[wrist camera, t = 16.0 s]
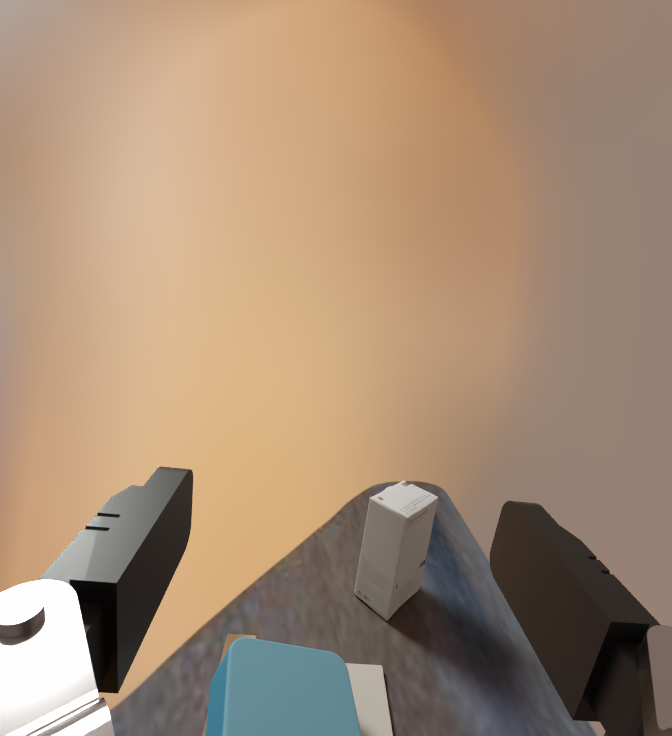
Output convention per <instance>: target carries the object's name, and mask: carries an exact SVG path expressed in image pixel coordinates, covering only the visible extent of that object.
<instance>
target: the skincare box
mask: <svg viewBox="0 0 672 736" xmlns="http://www.w3.org/2000/svg"><path fill="white" fill-rule="evenodd" d="M437 501H438V497H437V496H435V495H433V494H431V493H429V492H427V491H425V490H423V489H421V488H419V487H417V486H415V485H413V484H410V483H408V482H406V481H402V482H400V483H398V484H396V485H394V486H390V487H387V488H386V489H385V490H384V491H383V492H381V493H379V494H377V495H375V496H373V497H371V498H370V500H369V506H368V512H367V518H366V524H365V530H364V536H363V542H362V548H361V554H360V560H359V565H358V571H357V577H356V583H355V589H354V594H355V595H356V596H357V597H359V598H360V599H361V600H363V601H364V602H365V603H366V604H367V605H368V606H370V607H371V608H372V609H373V610H374V611H375V612H376V613H377V614H379V615H380V616H381V617H382V618H383V619H385V620H386V621H387V620H389V619H390V617H391V616H392V615H393V614H394V613H395V612H396V611H397V610H398V608H399V607H400V606H401V605H402V604H404V603H405V602H406V601H407V600H408V599H409V598H410V597H411V596H412V595H414V594H415V593H416V592H417V591H418V590H419V588H420V583H421V579H422V574H423V569H424V564H425V559H426V555H427V550H428V545H429V540H430V535H431V530H432V524H433V519H434V515H435V510H436V506H437Z"/></svg>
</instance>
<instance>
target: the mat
mask: <svg viewBox="0 0 672 736" xmlns="http://www.w3.org/2000/svg"><path fill="white" fill-rule="evenodd" d="M345 664H346V666H347V669H348V673H349V678H350V683H351V687H352V692H353V697H354V702H355V707H356V712H357V716H358V721H359V726H360V731H361V736H393V733H392V727H391V720H390V714H389V708H388V701H387V695H386V688H385V682H384V675H383V669H382V666H381V665H365V664H349V663H345Z"/></svg>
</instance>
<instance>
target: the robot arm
mask: <svg viewBox="0 0 672 736" xmlns="http://www.w3.org/2000/svg"><path fill="white" fill-rule="evenodd" d="M192 491H193V472H192V470H190V469H179V468H169V467H159V468H158V469H157V470H156V471H155V472H154V474H153V475H152V476H151V477H150V479H149V480H148V481H147V482H146V484H145V485H144V486H133V485H132V486H130V487H128V488H127V489H125V490H123V491H122V492H120V493H118V494H116V495H115V496H113V497H111V498H110V500H109V501H108V502H107V503H106V504H105V505H104V506H103V507H102V509H101V510H100V511H99V512H98V515H97V516H95V517H94V518H93V519H92V520H91V521H90V522H89V523H88V524H87V525H86V528H85V529H83V530H82V531H81V532H80V533H79V534H78V535H77V537H76V538H75V539H74V540H73V541H72V542H71V543H70V544H69V546H68V547H67V548H66V549H65V550H64V551H63V552H62V554H61V555H60V556H59V557H58V558H57V559H56V560H55V561H54V563H52V565H51V566H50V567H49V568H48V569H47V570H46V571H45V573H44V574H43V575H42V576H41V577H40V578H39V579H38V580H37V581H35V582H29V583H26V584H22V585H19V586H16V587H13V588H11V589H9V590H6V591H4V592H3V593H1V594H0V736H114V731H113V727H112V723H111V718H110V714H109V710H108V707H107V704H106V701H105V699H104V698H101V699H99V696H98V692H104V693H105V692H106V693H118V692H119V690H120V688H121V685H122V684H123V681H124V679H125V677H126V675H127V672H128V671H129V669H130V666H131V664H132V662H133V660H134V658H135V656H136V654H137V651H138V649H139V647H140V645H141V643H142V641H143V639H144V637H145V635H146V633H147V630H148V628H149V626H150V624H151V622H152V620H153V618H154V616H155V613H156V611H157V609H158V607H159V605H160V603H161V601H162V599H163V596H164V594H165V592H166V590H167V588H168V586H169V584H170V581H171V579H172V577H173V575H174V573H175V571H176V568H177V567H178V564H179V562H180V560H181V558H182V556H183V554H184V552H185V549H186V546H187V543H188V539H189V535H190V529H191V515H192ZM490 567H491V571H492V574H493V577H494V579H495V581H496V583H497V584H498V586H499V588H500V590H501V592H502V593H503V595H504V597H505V599H506V601H507V602H508V604H509V606H510V608H511V610H512V611H513V613H514V615H515V617H516V619H517V620H518V622H519V624H520V626H521V628H522V629H523V631H524V633H525V635H526V637H527V638H528V640H529V642H530V644H531V646H532V647H533V649H534V651H535V653H536V655H537V656H538V658H539V660H540V662H541V664H542V665H543V667H544V669H545V671H546V673H547V674H548V676H549V678H550V680H551V682H552V683H553V685H554V687H555V689H556V691H557V692H558V694H559V696H560V698H561V700H562V701H563V703H564V705H565V707H566V709H567V710H568V712H569V714H570V716H571V718H572V719H573V720H581V721H600V722H601V724H602V726H603V727H604V729H605V731H606V732H605V734H604V736H672V627H670V626H664V625H660V624H659V623H658V622H657V620H656V619H655V618H654V617H653V616H651V614H650V613H649V612H648V611H647V610H646V609H645V608H644V607H643V606H642V605H641V604H640V603H639V601H637V599H636V598H635V597H634V596H633V595H632V594H631V593H630V592H629V591H628V590H627V589H626V588H625V587H624V586H623V585H622V583H621V582H620V581H619V580H618V579H617V578H616V577H615V576H614V575H611V574H610V572H609V570H608V569H607V568H606V567H605V566H604V565H603V563H602V562H601V561H600V560H597V559H596V556H595V555H594V554H593V553H592V552H591V551H590V550H589V549H588V548H587V547H586V545H585V544H584V543H583V542H582V541H581V540H580V539H578V538H577V537H575V536H574V535H572V534H571V533H569V532H568V531H567V530H565V529H564V528H562V527H561V526H559V525H558V524H557V523H556V521H555V520H554V519H553V518H552V517H551V516H550V515H549V514H548V513H547V512H546V511H545V509H544V508H543V507H542V506H541V505H539V504H535V503H526V502H515V501H507V502H506V503H505V504H504V505H503V507H502V510H501V514H500V518H499V521H498V525H497V528H496V532H495V536H494V539H493V543H492V547H491V551H490Z"/></svg>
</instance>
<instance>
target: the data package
mask: <svg viewBox="0 0 672 736" xmlns="http://www.w3.org/2000/svg"><path fill="white" fill-rule="evenodd" d="M205 736H361V731H360V726H359V721H358V716H357V712H356V707H355V702H354V697H353V692H352V687H351V683H350V678H349V673H348V669H347V666H346V664H345V662H344V661H343V660H342V659H341V658H340V657H339V656H338V655H337V654H335V653H333V652H328V651H323V650H317V649H311V648H305V647H300V646H294V645H288V644H283V643H277V642H271V641H265V640H260V639H254V638H248V637H242V638H239V639H237V640H235V641H234V642H233V643H232V644H231V646H230V648H229V649H228V651H227V653H226V655H225V657H224V659H223V660H222V662H221V664H220V666H219V668H218V669H217V671H216V673H215V675H214V677H213V679H212V681H211V685H210V695H209V704H208V714H207V724H206V733H205Z"/></svg>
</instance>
